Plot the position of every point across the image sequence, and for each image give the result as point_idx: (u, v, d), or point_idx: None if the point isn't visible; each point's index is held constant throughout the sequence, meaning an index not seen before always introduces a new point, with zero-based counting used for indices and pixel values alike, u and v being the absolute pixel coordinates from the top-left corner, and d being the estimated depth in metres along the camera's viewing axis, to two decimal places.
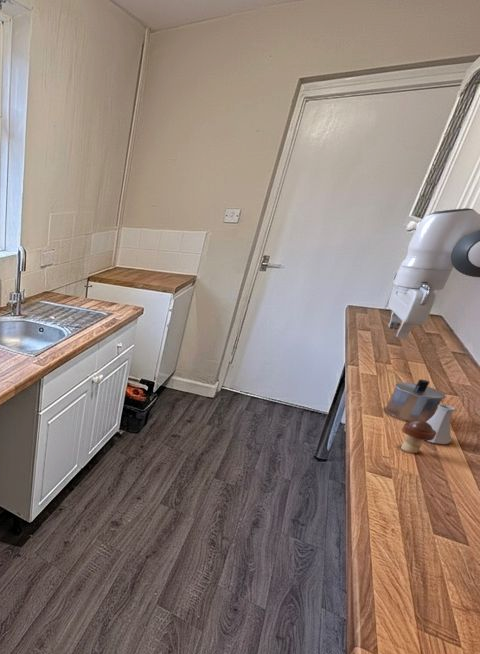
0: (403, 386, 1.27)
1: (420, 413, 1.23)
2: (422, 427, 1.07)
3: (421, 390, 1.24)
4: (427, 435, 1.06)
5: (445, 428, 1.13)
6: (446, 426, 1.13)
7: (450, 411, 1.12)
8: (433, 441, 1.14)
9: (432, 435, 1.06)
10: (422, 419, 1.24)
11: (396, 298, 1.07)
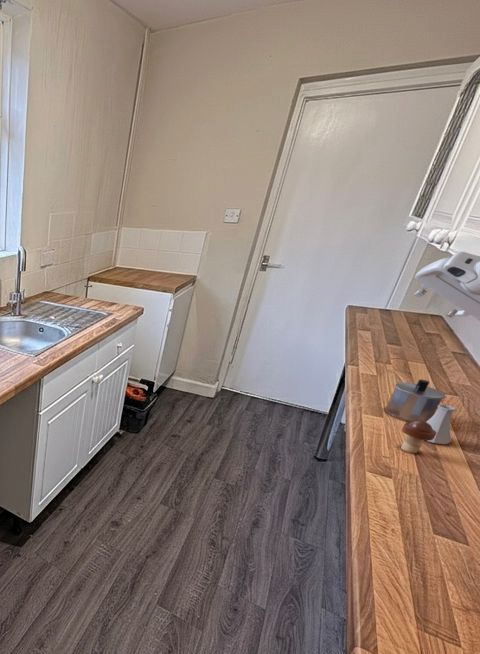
0: (403, 386, 1.27)
1: (420, 413, 1.23)
2: (422, 427, 1.07)
3: (421, 390, 1.24)
4: (427, 435, 1.06)
5: (445, 428, 1.13)
6: (446, 426, 1.13)
7: (450, 411, 1.12)
8: (433, 441, 1.14)
9: (432, 435, 1.06)
10: (422, 419, 1.24)
11: (443, 283, 1.13)
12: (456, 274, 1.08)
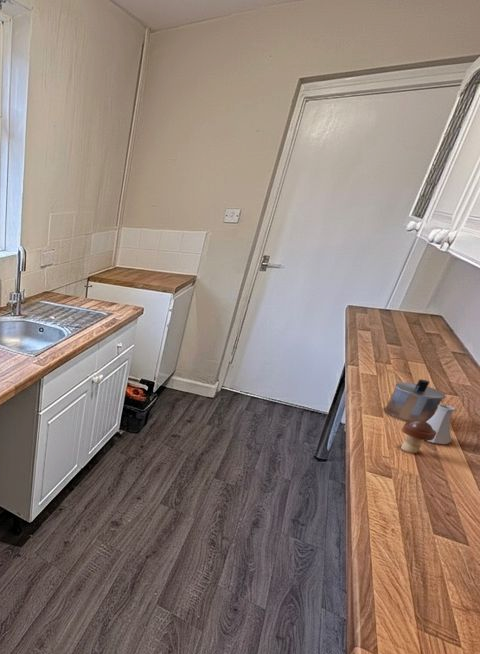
0: (403, 386, 1.27)
1: (420, 413, 1.23)
2: (422, 427, 1.07)
3: (421, 390, 1.24)
4: (427, 435, 1.06)
5: (445, 428, 1.13)
6: (446, 426, 1.13)
7: (450, 411, 1.12)
8: (433, 441, 1.14)
9: (432, 435, 1.06)
10: (422, 419, 1.24)
11: None
12: None
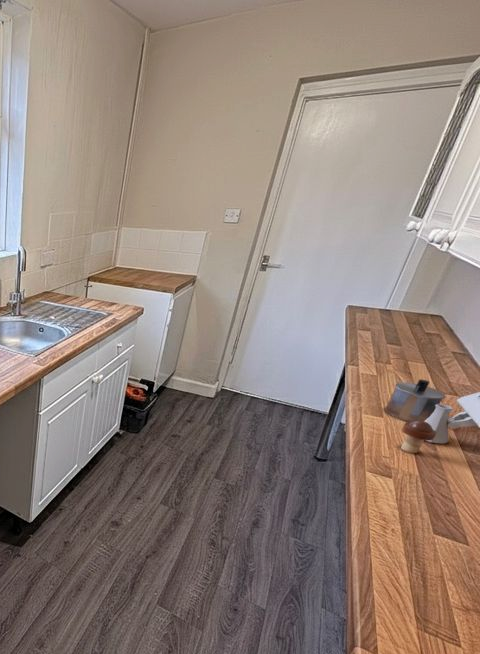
0: (403, 386, 1.27)
1: (420, 413, 1.23)
2: (422, 427, 1.07)
3: (421, 390, 1.24)
4: (427, 435, 1.06)
5: (443, 427, 1.13)
6: (444, 426, 1.13)
7: (448, 410, 1.12)
8: (431, 440, 1.14)
9: (432, 435, 1.06)
10: (422, 419, 1.24)
11: None
12: None
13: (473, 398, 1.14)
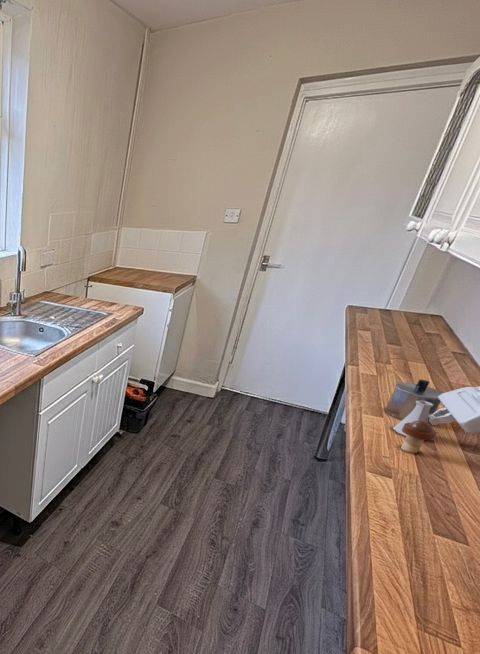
0: (403, 386, 1.27)
1: None
2: (422, 427, 1.07)
3: (421, 390, 1.24)
4: (427, 435, 1.06)
5: None
6: None
7: (427, 406, 1.14)
8: None
9: (432, 435, 1.06)
10: None
11: None
12: None
13: (453, 394, 1.16)
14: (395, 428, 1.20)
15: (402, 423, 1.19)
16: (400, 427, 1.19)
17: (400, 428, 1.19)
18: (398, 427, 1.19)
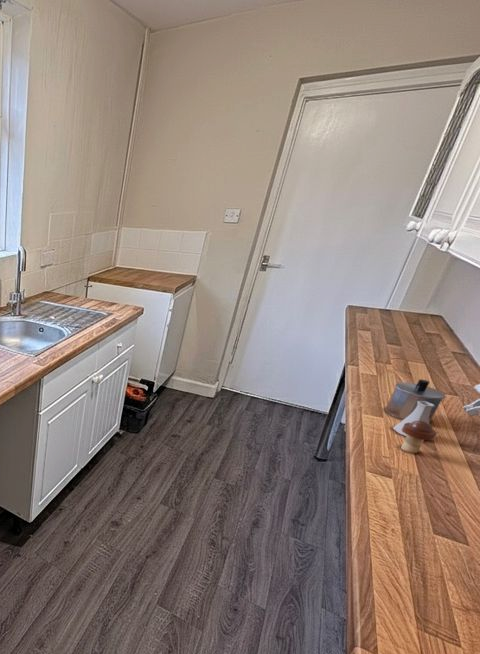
0: (403, 386, 1.27)
1: None
2: (422, 427, 1.07)
3: (421, 390, 1.24)
4: (427, 435, 1.06)
5: None
6: None
7: (429, 407, 1.14)
8: None
9: (432, 435, 1.06)
10: None
11: None
12: None
13: None
14: (395, 428, 1.20)
15: (402, 423, 1.19)
16: (400, 427, 1.19)
17: (400, 428, 1.19)
18: (398, 427, 1.19)
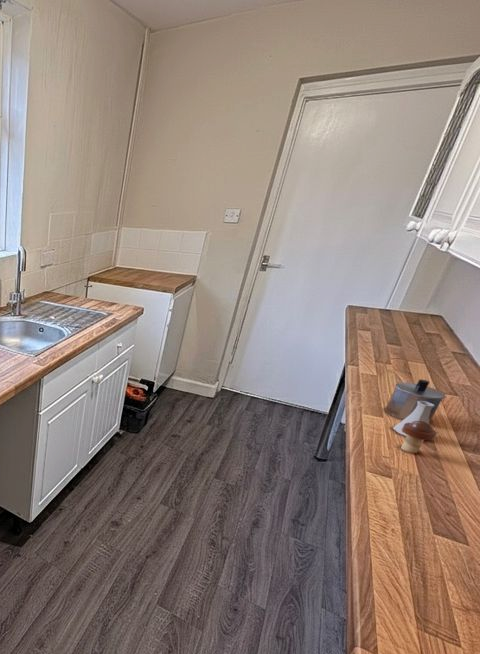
0: (403, 386, 1.27)
1: None
2: (422, 427, 1.07)
3: (421, 390, 1.24)
4: (427, 435, 1.06)
5: None
6: None
7: (428, 407, 1.14)
8: None
9: (432, 435, 1.06)
10: None
11: None
12: None
13: None
14: (395, 428, 1.20)
15: (402, 423, 1.19)
16: (400, 427, 1.19)
17: (400, 428, 1.19)
18: (398, 427, 1.19)
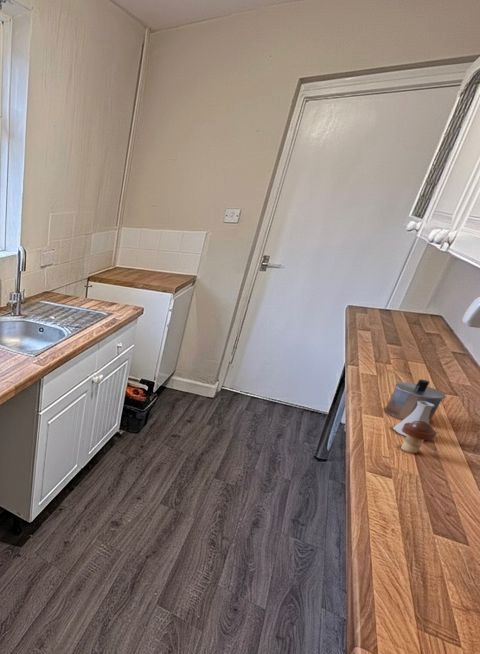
0: (403, 386, 1.27)
1: None
2: (422, 427, 1.07)
3: (421, 390, 1.24)
4: (427, 435, 1.06)
5: None
6: None
7: (428, 407, 1.14)
8: None
9: (432, 435, 1.06)
10: None
11: None
12: None
13: None
14: (395, 428, 1.20)
15: (402, 423, 1.19)
16: (400, 427, 1.19)
17: (400, 428, 1.19)
18: (398, 427, 1.19)
